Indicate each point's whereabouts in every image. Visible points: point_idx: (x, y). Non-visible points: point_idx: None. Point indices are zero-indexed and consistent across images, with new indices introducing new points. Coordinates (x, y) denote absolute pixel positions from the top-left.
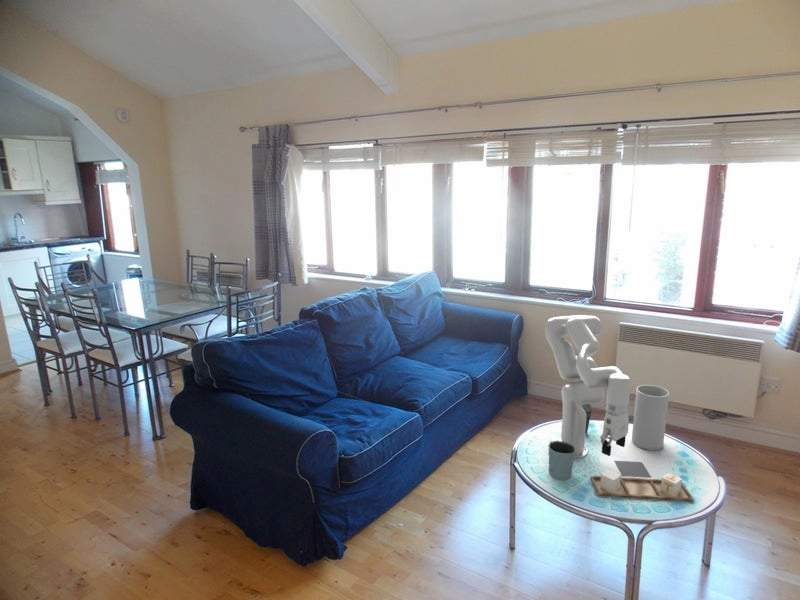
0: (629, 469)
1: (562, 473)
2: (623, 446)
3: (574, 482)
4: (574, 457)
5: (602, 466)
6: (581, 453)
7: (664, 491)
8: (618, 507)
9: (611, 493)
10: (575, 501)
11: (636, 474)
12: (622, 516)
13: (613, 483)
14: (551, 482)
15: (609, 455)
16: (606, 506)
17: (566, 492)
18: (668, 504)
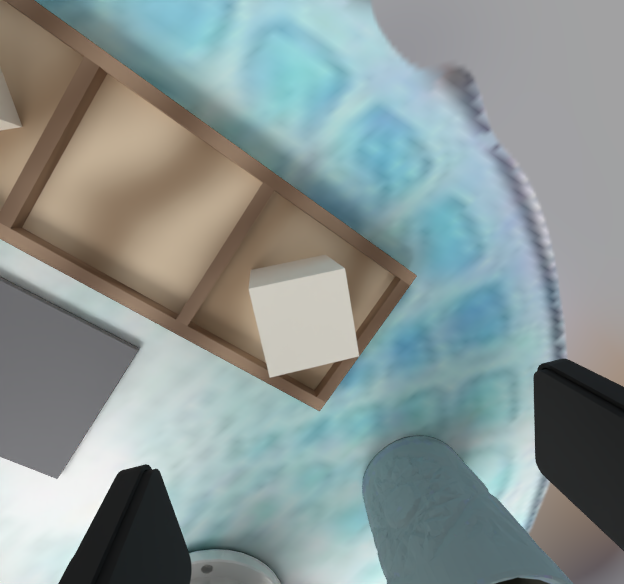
0: (36, 379)
1: (463, 466)
2: (150, 472)
3: (405, 407)
4: (252, 562)
5: (164, 460)
6: (195, 580)
7: (6, 95)
8: (390, 155)
9: (353, 242)
10: (519, 295)
11: (35, 324)
12: (436, 88)
13: (337, 264)
14: (490, 445)
15: (569, 362)
16: (434, 194)
17: (497, 363)
18: (92, 2)
